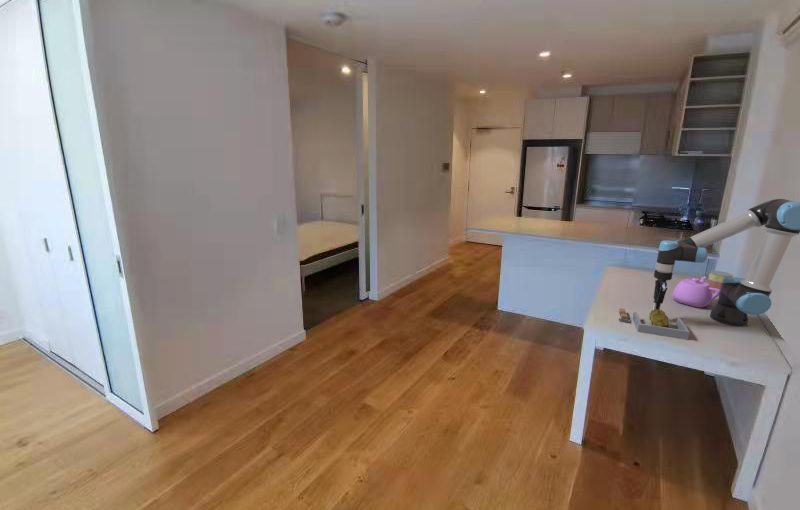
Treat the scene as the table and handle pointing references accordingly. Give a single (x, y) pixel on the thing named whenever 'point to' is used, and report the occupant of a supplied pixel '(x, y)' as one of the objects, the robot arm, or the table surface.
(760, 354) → the table surface
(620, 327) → the table surface
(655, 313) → the potato
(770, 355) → the table surface
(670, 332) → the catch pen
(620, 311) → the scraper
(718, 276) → the canned food
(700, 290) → the teapot
